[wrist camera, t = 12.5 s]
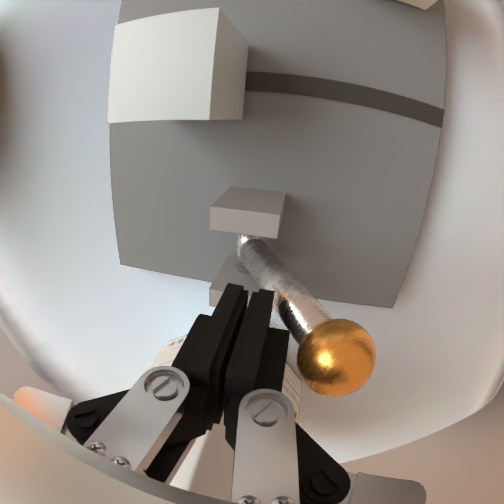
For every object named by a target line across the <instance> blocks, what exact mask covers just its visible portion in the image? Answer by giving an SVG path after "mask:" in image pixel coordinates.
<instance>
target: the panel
mask: <svg viewBox="0 0 504 504" xmlns="http://www.w3.org/2000/svg"><path fill="white" fill-rule="evenodd" d="M218 7H219V8H220V9H221V10H222V11H223V12H224V13H225V15H226V16H227V17H228V18H229V19H230V20H231V22H232V23H233V24H234V25H235V26H236V28H237V29H238V30H239V31H240V33H241V34H242V35H243V36H244V38H245V39H246V40H247V41H248V43H249V47H248V58H247V69H246V81H245V93H244V105H243V118H242V120H150V121H131V122H118V123H110V167H111V185H112V199H113V210H114V220H115V228H116V236H117V244H118V251H119V258H120V264H121V265H126V266H131V267H136V268H141V269H145V270H150V271H156V272H161V273H166V274H171V275H176V276H182V277H187V278H192V279H198V280H203V281H209V282H213V283H212V285H211V287H210V289H209V306H213V307H216V306H217V304H218V302H219V300H220V298H221V296H222V294H223V292H224V290H225V288H226V286H227V284H228V283H232V284H237V285H243V286H244V290H248V291H249V295H248V304H249V301H250V298H251V295H252V292H259V289H260V287H259V286H258V284H257V283H256V281H255V280H254V278H253V277H252V275H251V274H247V273H242V272H239V271H238V270H237V269H236V252H237V235H238V233H240V234H247V235H254V236H261V237H262V240H263V241H264V242H265V243H266V244H267V245H268V246H269V247H270V249H271V250H272V251H273V252H274V253H275V254H276V255H277V256H278V257H279V258H280V260H281V261H282V262H283V263H284V264H285V265H286V266H287V267H288V268H289V270H290V271H291V272H292V273H293V274H294V275H295V276H296V277H297V278H298V280H299V281H300V282H301V283H302V284H303V285H304V286H305V287H306V289H307V290H308V291H309V292H310V293H311V294H312V295H313V296H314V298H315V299H322V300H330V301H337V302H344V303H352V304H360V305H368V306H376V307H385V308H393V306H394V303H395V301H396V298H397V296H398V293H399V291H400V288H401V285H402V283H403V280H404V277H405V274H406V271H407V269H408V266H409V263H410V260H411V257H412V254H413V251H414V247H415V244H416V241H417V238H418V234H419V231H420V227H421V224H422V220H423V216H424V213H425V209H426V205H427V201H428V197H429V192H430V188H431V183H432V179H433V174H434V169H435V163H436V158H437V152H438V146H439V140H440V132H441V128H442V123H443V115H444V109H443V106H444V95H445V78H446V30H445V14H444V3H443V0H438V1H436V2H435V3H434V4H433V5H431V6H430V7H429V8H428V9H426V10H424V9H421V8H418V7H416V6H413V5H410V4H407V3H404V2H401V1H398V0H122V4H121V9H120V15H119V21H118V24H121V23H125V22H129V21H133V20H137V19H142V18H146V17H151V16H156V15H161V14H167V13H173V12H180V11H187V10H196V9H206V8H218ZM247 307H248V305H247Z"/></svg>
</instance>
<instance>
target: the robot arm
mask: <svg viewBox="0 0 504 504" xmlns="http://www.w3.org/2000/svg"><path fill="white" fill-rule="evenodd" d="M274 293H275V291H272V290H266V289H259V292H252V295H251V298H250V301H249V304H248V295H249V291H248V290H244V286H243V285H237V284H232V283H228V284H227V286H226V288H225V290H224V292H223V294H222V296H221V298H220V300H219V302H218V304H217V306H216V308H215V310H214V312H213V314H212V316H208V315H203V314H200V315H198V317H197V318H196V320H195V322H194V324H193V326H192V328H191V329H190V331H189V333H188V335H187V337H186V339H185V340H184V342H183V344H182V346H181V348H180V350H179V352H178V353H177V355H176V357H175V359H174V361H173V363H172V365H171V366H158V367H154V368H151V369H149V370H148V371H146V372H145V373H144V374H143V375H142V376H141V377H140V378H139V380H138V381H137V382H136V383H135V384H134V386H133V387H132V388H131V389H128V390H125V391H122V392H118V393H114V394H111V395H107V396H103V397H100V398H96V399H92V400H88V401H84V402H81V403H78V404H76V403H74V402H73V400H71V399H67V398H64V397H60V396H57V395H54V394H51V393H47V392H44V391H41V390H39V389H35V388H33V387H28V386H26V387H22V388H20V389H18V390H17V391H16V392H15V394H14V395H13V397H12V399H9V398H8V397H6V396H4V395H2V394H0V504H425V503H426V491H425V489H424V487H423V486H422V485H421V484H420V483H419V482H416V481H412V480H404V479H396V478H389V477H382V476H376V475H371V474H365V473H360V472H359V473H357V474H353V473H349V472H346V471H345V469H344V468H343V467H341V466H340V465H339V464H338V463H337V462H336V461H335V460H334V459H333V458H332V457H331V456H330V455H329V454H328V453H327V452H325V451H324V450H323V449H322V448H321V447H320V446H319V445H318V444H317V443H316V442H315V441H314V440H313V439H312V438H311V437H310V436H309V435H308V434H307V433H306V432H305V431H304V430H303V429H302V428H301V427H300V426H299V425H298V424H297V423H296V422H295V413H294V407H293V404H292V402H291V401H290V399H289V398H288V397H287V396H285V395H284V394H283V393H282V386H283V379H284V372H285V365H286V357H287V350H288V342H289V334H290V331H288V330H282V329H276V328H270V327H269V325H270V318H271V312H272V306H273V300H274ZM247 305H248V307H247ZM223 412H224V426H225V440H226V441H227V442H228V444H229V445H230V446H231V448H232V449H233V450H234V459H233V472H232V484H231V496H230V501H226V500H221V499H217V498H213V497H209V496H205V495H201V494H197V493H194V492H190V491H187V490H184V489H180V488H177V487H174V486H171V485H169V484H170V483H171V481H172V480H173V478H174V476H175V475H176V473H177V471H178V470H179V468H180V467H181V465H182V463H183V462H184V460H185V458H186V457H187V455H188V453H189V452H190V450H191V448H192V447H193V445H194V443H195V441H196V438H197V437H200V436H202V435H205V434H206V431H207V430H210V431H211V430H212V427H213V424H214V423H215V424H220V421H221V418H222V415H223Z"/></svg>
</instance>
